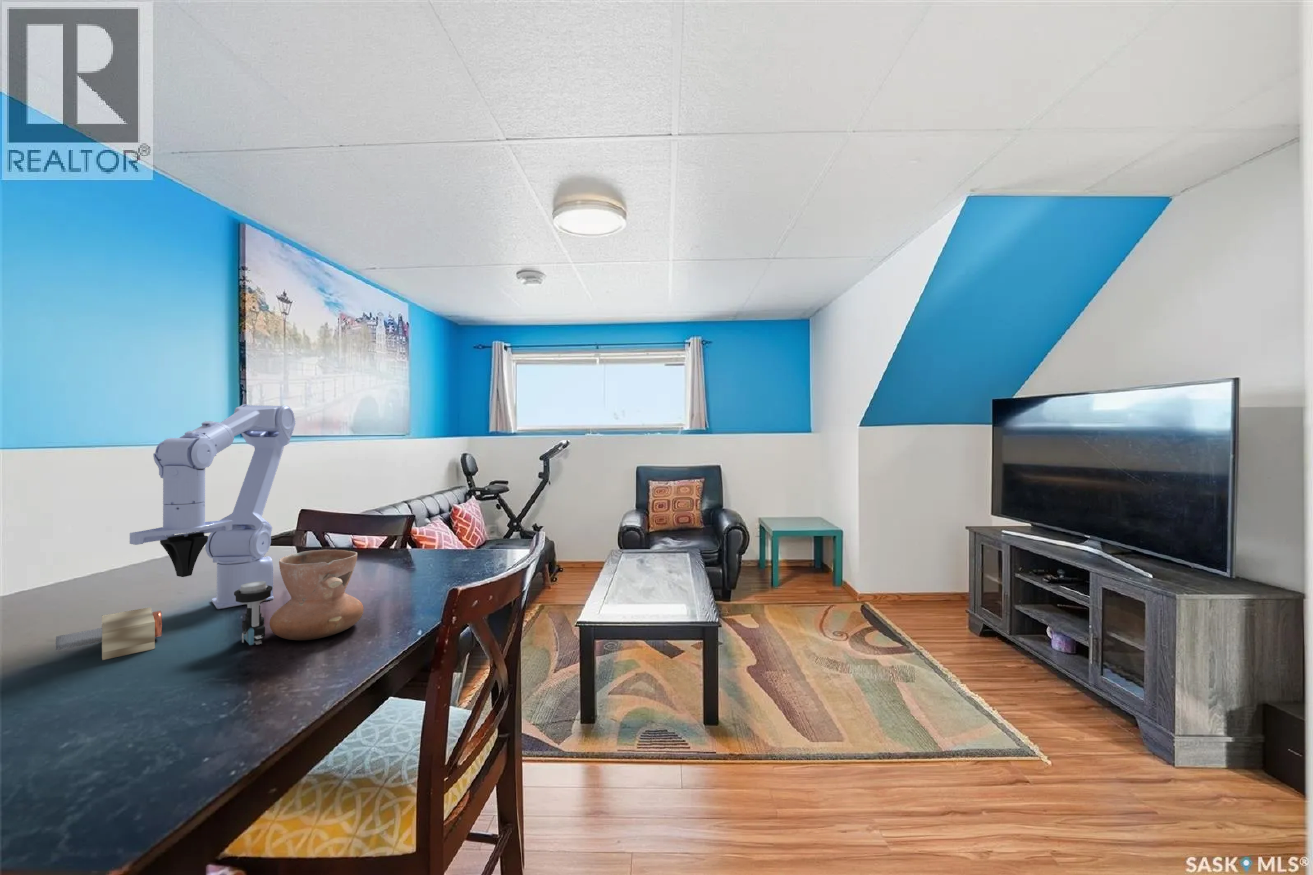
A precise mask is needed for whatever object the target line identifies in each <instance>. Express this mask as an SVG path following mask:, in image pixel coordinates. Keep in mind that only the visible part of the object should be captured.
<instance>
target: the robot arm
mask: <svg viewBox="0 0 1313 875" xmlns="http://www.w3.org/2000/svg"><path fill="white" fill-rule="evenodd" d="M295 426H296V419H295V413H294V411H293V410H292V408H291V407H290V406H289V405H285V404H283V405H261V404H259V405H258V404H257V405H255V404H251V405H250V404H247V403H246V404H241V405H240V406H237V407H235V408H234V411H233V414H231V415H230V416H228V417H227V418H224V420H222V421H220V422H219V421H214V420H212V421H211V420H205V421H203V422H202V423H201V426H199V427H197V428H195V429H193V430H188V431H186V432H185V433H184V435H183V434H182V436H180V437H169V438H165V439H164V440H163V441H161V442H159V443H158V444H157V446H156V449H155V452H154V453H153V460H154V463H155V465H156V466H157V468H158V475H159V476H160V479H162V482H163V484H162V504H163V505H162V515H163V516H162V527H155V528H151V529H150V528H149V529H144V530H141V531H133V532H130V533H129V544H130V545H134V546H138V545H144V544H145V543H153V542H159V544H160V545H161V546H162V547H163V549H164V550H165V552H166V553H167V555H168V556H169V558H170V560H171V562H172V565H173V567H174V571H175V574H176V577H179V578H180V577H181V578H186V577H191V576H192V575H193V571H194V568H195V566H196V562H197V560H198V557H199V555H200V553H201V551H202V550H203V548H204V549H205V552H206V555H207V556H208V557H209V558H210V559H212V563H216V597H213V598H211V602H212V604H213V605H214V606H215V609H217V610H221V609H222V610H223V609H227V608H232V607H239V606H242V605H245V604H241V603H240V602H236V596H235V595H234V592H235V591H236V590H239V589H241V585H243V584H245V583H249V582H257V581H264V582H266V585H268V586H272V587H273V589H272V591H271V596H270V597H268V598H267V599H266V600H265V601H270V600H274V597H275V596H274V562H273V559H272V557H271V556H268V555H267V553H268V552H269V550H270V547H271V543H272V531H273V526H272V525H271V523H270V522H269V521H267V520H266V519H265V518H264V517H263V514H264V512H265V511H264V510H265V508H266V504H267V502H268V498H269V496H270V492H271V489H272V487H273V483H274V480H275V476H276V474H277V470H278V467H279V464H280V463H281V462H280V461H281V459H282V454H283V452H284V448H285V447H286V446H287V445H288V444H290V441H291V439H292V436H293V432H294V429H295V428H296V427H295ZM240 434H241V436H242V438H243V439H244V440H245V443H246V444H248V445H250V446H252V447H253V448H254V451H253V454H252V457H251V460H250V463H249V465H248V467H247V471H246V474H245V477H244V478H243V482H242V485H241V488H240V491H239V494H238V497H237V499H236V502H235V505H234V508H233V511H232V512H231V513H230V514H229V515H226V516H225V517H223V518H221V519H218V520H213V521H206V468H209V467H210V466H211V465H212V463H213V461H214V458H215V457H216V456H217V454H219V453H220V452H222V451H223V450H225V449H227V448H228V447H231V446H232V444H233V442H234V438H235V437H237V436H238V435H240ZM205 534H208V535H205ZM265 555H267V556H265Z"/></svg>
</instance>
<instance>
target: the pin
mask: <svg viewBox="0 0 1313 875" xmlns="http://www.w3.org/2000/svg"><path fill="white" fill-rule="evenodd" d="M152 613H153V617H154V620H155V638H158V637H162V634H163V617H162V616H163V615H162V611H161V610H157V611H156V610H155V611H152ZM96 643H102V627H100V628H93V629H89V630H83V631H78V632H76V631H75V632H71V633H67V634H61V635H56V636H55V651H61V650H65V649H71V648H77V647H80V646H86V645H92V644H96Z"/></svg>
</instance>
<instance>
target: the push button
mask: <svg viewBox="0 0 1313 875" xmlns="http://www.w3.org/2000/svg"><path fill="white" fill-rule="evenodd" d="M272 589H273V590H274V586H273V587H272V586H268V585H266V582H264V581H257V582H249V583H245V584H243V585H241V589H239V590H236V591H235V592H234V595H235V596H236V602H240V603H241V604H244V605H246V606H247V607H246V613H245V614H244V616H245V617H244V618H245V619H244V620H242V622H241V625H242V626H241V627H242V631H243V632H242V633H241V643H243V644H244V643H245V641H246V643H247V644H248V645H249V646H254V645H260V644H261V645H262V644H263V639H265V637H266V627H265V626H264V625H265V617H264V616H262V612H261V604H260V603H262V602H265V601H267V600H266V599H267V598H268V597H270V596H271V591H272Z"/></svg>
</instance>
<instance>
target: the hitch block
mask: <svg viewBox="0 0 1313 875" xmlns="http://www.w3.org/2000/svg"><path fill="white" fill-rule="evenodd" d="M101 628H102V642H101V659H102V661H106V660H110V659H113V658H117V657H118V658H119V657H123V656H128V655H132V654H136V653H141V652H146V651H151V650H154V649H156V641H155V640H156V637H155V620H154V617H153V609H152V607H151V606H149V607H142V608H138V609H134V610H133V609H132V610H126V611H121V612H120V611H119V612H116V613H108V614H104V615H101Z"/></svg>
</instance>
